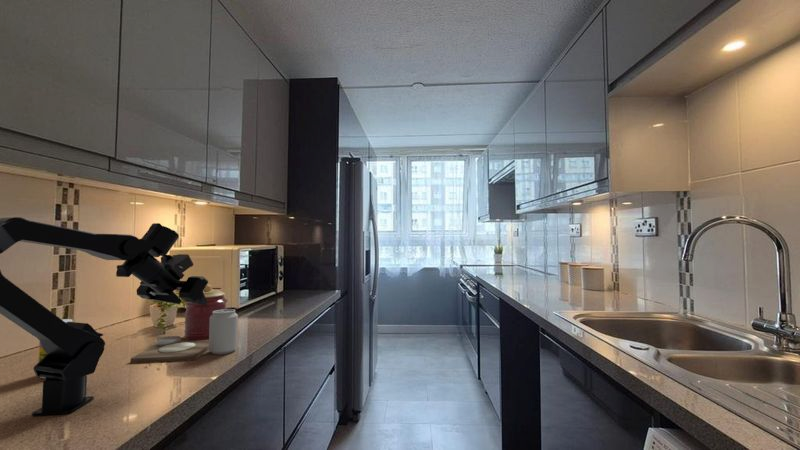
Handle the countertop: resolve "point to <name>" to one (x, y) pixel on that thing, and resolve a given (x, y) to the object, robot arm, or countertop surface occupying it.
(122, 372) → the countertop surface
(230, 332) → the can
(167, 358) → the board
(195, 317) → the canister
